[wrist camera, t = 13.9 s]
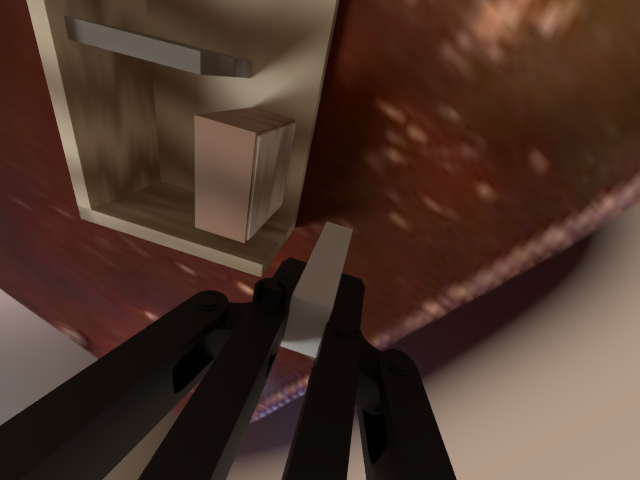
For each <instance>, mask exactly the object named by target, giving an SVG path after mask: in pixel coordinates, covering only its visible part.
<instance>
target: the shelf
mask: <svg viewBox="0 0 640 480" xmlns="http://www.w3.org/2000/svg"><path fill="white" fill-rule="evenodd" d="M339 1H340V0H27V4H28V8H29V12H30V16H31V20H32V24H33V28H34V32H35V36H36V40H37V44H38V48H39V52H40V56H41V60H42V64H43V68H44V72H45V76H46V80H47V84H48V88H49V92H50V96H51V100H52V104H53V108H54V112H55V116H56V120H57V124H58V128H59V132H60V136H61V140H62V144H63V148H64V152H65V156H66V160H67V164H68V168H69V172H70V176H71V180H72V184H73V188H74V192H75V196H76V200H77V204H78V208H79V212H80V216H81V219H84V220H87V221H90V222H93V223H96V224H100V225H103V226H106V227H109V228H112V229H115V230H118V231H121V232H124V233H127V234H130V235H133V236H136V237H139V238H142V239H146V240H149V241H152V242H155V243H158V244H161V245H164V246H167V247H170V248H173V249H176V250H179V251H182V252H185V253H188V254H192V255H195V256H198V257H201V258H204V259H207V260H210V261H213V262H216V263H219V264H222V265H225V266H228V267H231V268H234V269H238V270H241V271H244V272H247V273H250V274H253V275H256V276H259V277H261V276H262V275H263V273H264V272H265V271H266V269H267V268H268V266H269V265H270V263H271V262H272V260H273V259H274V257H275V256H276V254H277V253H278V252H279V250H280V249H281V247H282V246H283V244H284V243H285V241H286V240H287V238H288V237H289V236H290V234H291V233H292V231H293V230H294V228H295V224H296V219H297V214H298V208H299V203H300V198H301V193H302V188H303V183H304V178H305V173H306V168H307V163H308V158H309V153H310V148H311V143H312V138H313V133H314V128H315V122H316V117H317V112H318V107H319V102H320V97H321V92H322V87H323V82H324V77H325V72H326V67H327V62H328V57H329V52H330V47H331V41H332V36H333V31H334V26H335V21H336V16H337V11H338V6H339ZM249 107H252V108H255V109H259V110H262V111H266V112H269V113H273V114H277V115H280V116H284V117H287V118H291V119H294V120H295V123H296V127H295V133H294V139H293V144H292V150H291V156H290V162H289V168H288V174H287V179H286V185H285V191H284V197H283V203H282V205H281V206H280V207H279V208H278V209H277V210H276V212H275V213H274V214H273V215H272V216H271V217H270V218H269V219H268V220H267V221H266V222H265V223H264V224H263V225H262V227H261V228H260V229H259V230H258V231H257V232H256V233H255V234H254V235H253V236H252V237H251V238H250V239H249V241H248V240H247V241H246V242H245V243H242V242H239V241H236V240H233V239H230V238H226V237H223V236H220V235H217V234H214V233H211V232H208V231H205V230H202V229H199V228H196V227H195V120H194V115H198V114H205V113H212V112H220V111H227V110H234V109H241V108H249Z"/></svg>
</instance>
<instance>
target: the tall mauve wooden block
mask: <svg viewBox="0 0 640 480" xmlns="http://www.w3.org/2000/svg"><path fill="white" fill-rule="evenodd" d="M194 120H195V227H196V228H199V229H202V230H205V231H208V232H211V233H214V234H217V235H220V236H223V237H226V238H230V239H233V240H236V241H239V242H242V243H245V242H246V241H247V240H248V241H249V239H250V238H251V237H252V236H253V235H254V234H255V233H256V232H257V231H258V230H259V229H260V228H261V227H262V225H263V224H264V223H265V222H266V221H267V220H268V219H269V218H270V217H271V216H272V215H273V214H274V213H275V212H276V210H277V209H278V208H279V207H280V206H281V205H282V203H283V197H284V191H285V185H286V179H287V174H288V168H289V162H290V156H291V150H292V144H293V139H294V133H295V127H296V123H295V120H294V119H291V118H287V117H284V116H280V115H277V114H273V113H269V112H266V111H262V110H259V109H255V108H252V107H249V108H241V109H234V110H227V111H220V112H212V113H205V114H198V115H194Z"/></svg>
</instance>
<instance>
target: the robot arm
mask: <svg viewBox="0 0 640 480" xmlns="http://www.w3.org/2000/svg"><path fill="white" fill-rule="evenodd" d="M352 231H353V229H350V228H347V227H343V226H340V225H337V224H333V223H330V222H326V225H325V227H324V229H323V231H322V233H321V235H320V237H319V239H318V242H317V244H316V246H315V248H314V250H313V252H312V254H311V256H310V259H309V261H308V263H306V262H303V261H300V260H296V259H293V258H288V259H286V260H285V261H283V262H282V263H281V265H280V266H279V268H278V270H277V271H276V273H275V275H274V276H273V278H264V279H261V280H259V281H258V282H257V283H256V284H255V287H254V294H253V301H252V302H248V303H232V302H229V301H228V298H227V297H226V296H225V295H224V294H223V293H221V292H218V291H212V290H208V291H202V292H200V293H197V294H195V295H194V296H192V297H191V298H189V299H188V300H186V301H185V302H183V303H182V304H180V305H179V306H177V307H176V308H174V309H173V310H171V311H170V312H168V313H167V314H165V315H164V316H162V317H161V318H160V319H158V320H157V321H155V322H154V323H152V324H151V325H149V326H148V327H146V328H145V329H143V330H142V331H140V332H139V333H137V334H136V335H134V336H133V337H131V338H130V339H128V340H127V341H125V342H124V343H122V344H121V345H119V346H118V347H116V348H115V349H113V350H112V351H110V352H109V353H108V354H106V355H105V356H103V357H102V358H100V359H99V360H97V361H96V362H94V363H93V364H91V365H90V366H88V367H87V368H85V369H84V370H82V371H81V372H79V373H78V374H76V375H75V376H74V377H72V378H70V379H69V380H67V381H66V382H64V383H63V384H61V385H60V386H59V387H57V388H56V389H54V390H53V391H51V392H50V393H48V394H47V395H45V396H44V397H42V398H41V399H39V400H38V401H36V402H35V403H33V404H32V405H30V406H29V407H27V408H26V409H24V410H23V411H21V412H20V413H18V414H17V415H16V416H14V417H13V418H11V419H10V420H8V421H7V422H5V423H4V424H2V425H1V426H0V480H102V479H103V478H104V477H105V476H106V475H107V474H108V473H109V472H110V471H111V470H112V469H113V468H114V467H115V466H116V465H117V464H118V463H119V462H120V461H121V460H122V459H123V458H124V457H125V456H126V455H127V454H128V453H129V452H130V451H131V450H132V449H133V448H134V447H135V446H136V445H137V444H138V443H139V442H140V441H141V440H142V439H143V438H144V437H145V436H146V435H147V434H148V433H149V432H150V431H151V430H152V429H153V428H154V427H155V426H156V425H157V424H158V423H159V422H160V421H161V420H162V419H163V418H164V417H165V416H166V415H167V414H168V413H169V412H170V411H171V410H172V409H173V408H174V407H175V406H176V405H177V404H178V403H179V402H180V401H181V400H182V399H183V398H184V397H185V396H186V395H187V394H188V393H189V392H190V391H191V389H192V388H193V387H194V386H195V385H196V384H197V383H198V382H199V381H200V380H201V379H202V378H203V377H204V378H203V379H202V381H201V382H200V384H199V385H198V387H197V388H196V390H195V392H194V393H193V395H192V396H191V398H190V399H189V401H188V402H187V404H186V406H185V407H184V409H183V410H182V412H181V413H180V415H179V416H178V418H177V420H176V421H175V423H174V424H173V426H172V427H171V429H170V430H169V432H168V434H167V435H166V437H165V438H164V440H163V441H162V443H161V445H160V446H159V448H158V449H157V451H156V452H155V454H154V455H153V457H152V459H151V460H150V462H149V463H148V465H147V466H146V468H145V469H144V471H143V473H142V474H141V476H140V477H139V479H138V480H226V478H227V475H228V473H229V470H230V468H231V466H232V463H233V461H234V458H235V456H236V454H237V451H238V449H239V446H240V444H241V441H242V439H243V437H244V434H245V432H246V430H247V427H248V425H249V422H250V420H251V418H252V415H253V413H254V410H255V408H256V406H257V403H258V401H259V398H260V396H261V394H262V391H263V389H264V386H265V384H266V382H267V379H268V377H269V374H270V372H271V369H272V367H273V365H274V362H275V360H276V357H277V352H278V349H279V346H280V344H281V346H282V347H285V348H288V349H291V350H294V351H297V352H299V353H302V354H305V355H308V356H311V357H314V358H316V359H315V362H314V365H313V368H312V371H311V374H310V377H309V380H308V386H307V389H306V393H305V397H304V400H303V404H302V408H301V411H300V415H299V418H298V422H297V426H296V429H295V433H294V436H293V440H292V444H291V447H290V451H289V454H288V458H287V462H286V465H285V469H284V472H283V476H282V480H347V472H348V463H349V453H350V444H351V435H352V426H353V416H354V406H355V404H357V412H358V419H359V427H360V434H361V441H362V450H363V457H364V465H365V473H366V480H457V479H456V476H455V474H454V471H453V468H452V465H451V463H450V460H449V457H448V454H447V451H446V448H445V445H444V442H443V440H442V437H441V434H440V432H439V428H438V426H437V423H436V420H435V417H434V414H433V411H432V409H431V406H430V403H429V400H428V397H427V394H426V392H425V389H424V386H423V383H422V380H421V377H420V374H419V372H418V369H417V367H416V365H415V363H414V361H413V360H412V359H411V358H410V357H409V356H408V355H407V354H405V353H403V352H402V351H399V350H396V349H387V350H385V351H383V352H381V351H380V350H378V349H377V348H375V347H373V346H372V345H371V344H369V343H368V342H367V341H366V339H365V338H364V337H363V335H362V333H361V330H360V324H361V315H362V307H363V298H364V290H365V286H364V284H363V282H362V280H361V279H359V278H356V277H353V276H350V275H347V274H343V273H342V270H343V266H344V262H345V258H346V254H347V250H348V246H349V242H350V238H351V234H352Z"/></svg>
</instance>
